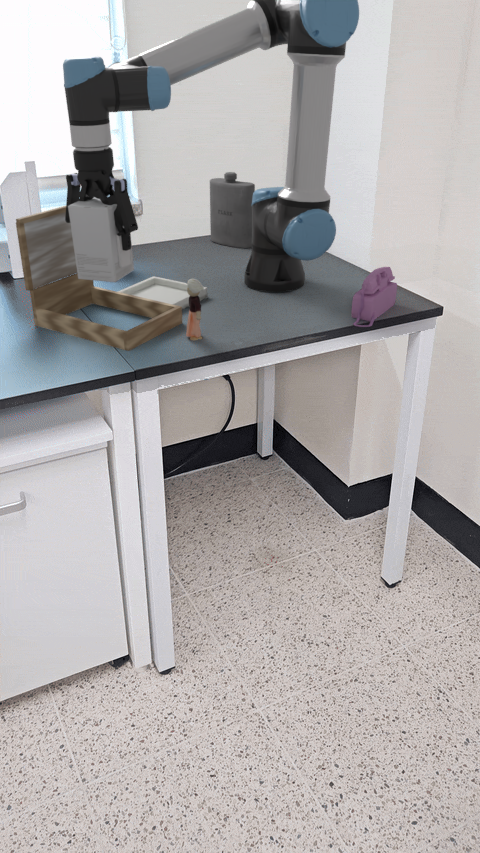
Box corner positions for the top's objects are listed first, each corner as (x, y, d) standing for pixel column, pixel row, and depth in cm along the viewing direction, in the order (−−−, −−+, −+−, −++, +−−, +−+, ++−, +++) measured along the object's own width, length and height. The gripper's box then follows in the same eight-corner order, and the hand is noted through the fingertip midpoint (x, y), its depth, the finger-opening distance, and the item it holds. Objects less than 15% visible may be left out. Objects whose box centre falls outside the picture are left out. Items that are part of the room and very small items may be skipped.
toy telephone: (373, 301, 170) (377, 259, 165) (399, 306, 167) (404, 263, 162) (340, 324, 157) (344, 280, 152) (368, 330, 154) (372, 285, 149)
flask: (205, 241, 214) (204, 171, 204) (217, 237, 218) (217, 168, 208) (245, 250, 206) (245, 177, 196) (257, 245, 210) (258, 174, 200)
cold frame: (182, 323, 156) (178, 218, 145) (128, 352, 143) (118, 238, 131) (89, 301, 169) (79, 202, 158) (31, 325, 155) (15, 219, 144)
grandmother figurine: (180, 333, 151) (177, 274, 145) (197, 330, 153) (195, 272, 147) (193, 346, 145) (191, 286, 139) (210, 343, 147) (209, 283, 140)
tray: (207, 297, 171) (207, 287, 170) (166, 318, 159) (166, 307, 158) (154, 286, 178) (153, 276, 177) (111, 304, 167) (110, 294, 165)
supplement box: (135, 270, 152) (129, 197, 145) (115, 283, 145) (108, 208, 138) (97, 266, 155) (89, 195, 148) (76, 279, 148) (66, 205, 140)
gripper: (150, 148, 135) (159, 264, 146) (63, 140, 146) (77, 249, 157) (124, 155, 130) (135, 275, 141) (35, 146, 140) (52, 258, 151)
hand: (105, 261), depth 149 cm, fingers closed on supplement box, 10 cm apart
